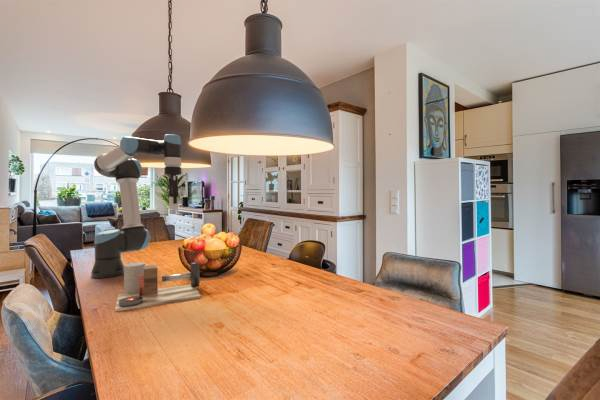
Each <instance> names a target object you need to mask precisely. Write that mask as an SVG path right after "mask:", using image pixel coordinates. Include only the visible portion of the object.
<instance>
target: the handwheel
mask: <svg viewBox="0 0 600 400" xmlns="http://www.w3.org/2000/svg"><path fill="white" fill-rule="evenodd" d="M141 296H144V275H139V296H132V297H126V298H123V299H121V300H120V301H119V306H122V307H128V306H134V305H138V304H140V303H142V302H143V297H141Z"/></svg>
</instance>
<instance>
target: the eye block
mask: <svg viewBox="0 0 600 400" xmlns="http://www.w3.org/2000/svg"><path fill="white" fill-rule="evenodd" d="M158 284H159V283H158V264H152V265H150V264H149V265H145V266H144V296H141V297H143V302H142V303H140V304H138V305H134V306H128V307H122V306H119V301H120V300H121V299H123V298H126V297H132V296H139V292H133V293H126V294H125V293H121V294H118V295H117V299H116V303H115V309H114V310H115V311H114V312H123V311H128V310H134V309H141V308H146V307H152V306H160V305H166V304H171V303H178V302H184V301H191V300H197V299H201V298H202V295H201V293H200V291H199V290H198V287H191V284H185V285H179V286H178V285H177V286H171V287H164V288H158V287H159V285H158Z"/></svg>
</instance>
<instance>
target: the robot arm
mask: <svg viewBox="0 0 600 400" xmlns="http://www.w3.org/2000/svg"><path fill="white" fill-rule="evenodd" d="M163 136H164V137H163V140H155V139H148V138H140V137H135V136H129V135H128V136H126V135H125V136H123V137H121V140H120V142H119V145H118V146H115V148H113V149H112V150H110V151H108V152H107V153H102V154H100V155H98V156H97V157H96V158H95V160H94V162H93V166H94V169H95V171H96V172H97V173H98V174H99V175H101V176H103V177H105V178H106V177H107V178H114V179H115V182H116V183H118V185H119V191H120V192H119V194H120V202H121V203H120V204H121V209H122V210H121V211H122V218H123V225H122V227H121V228H120V229H115V228H114V229H108V230H107V229H106V230H103V231H99V232H97V233H96V234H95V235H94V241H93V244H94V264H93V266H92V269H91V272H90V274H91V275H90V276H91V278H93V279H107V278H108V279H109V278H114V277H118V276H122V275H124V265H125V264H124V263H123V261H122V257H121V255H122V253H130V252H136V251H137V252H139V251H141V250H145V249H147V247H148V246H149V244H150V241H151V234H150V232H149V230H148V229H146V228H145V225H144V224H143V223H142V221H141V212H140V204H139V197H138V196H139V195H138V194H139V193H138V187H137V186H138V185H137V183H138V182H139V181H140V180H139V179H140V178H141V177H142V176H143V175H142V174H143V168H142V164H141V162H140V160H138V159H136V158H134V157H135V156H137V155H147V156H153V157H159V158H161V157H164V158H163V159H162V161H163V162H164V166H165V167H164V175H166V176H169V177H168V180H167V182H168V203H169V204H168V205H169V207H168V209H169V211H170V210H171V211H172V212H178V211H179V188H178V187H179V185H178V183H179V182H178V181H179V179H178V176H181V175H182V167H181V166H182V141H181V136H180V135H179V134H175V133H169V134H168V133H166V134H164V135H163Z"/></svg>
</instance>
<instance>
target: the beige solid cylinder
mask: <svg viewBox="0 0 600 400" xmlns="http://www.w3.org/2000/svg"><path fill="white" fill-rule="evenodd" d="M123 265H124V274H123V284H124V285H123V288H124V289H123V292H124V293H123V294H126V293H133V292H139V275H144V266H146V262H143V261H142V262H141V261H137V262H129V263H125V264H123Z"/></svg>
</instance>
